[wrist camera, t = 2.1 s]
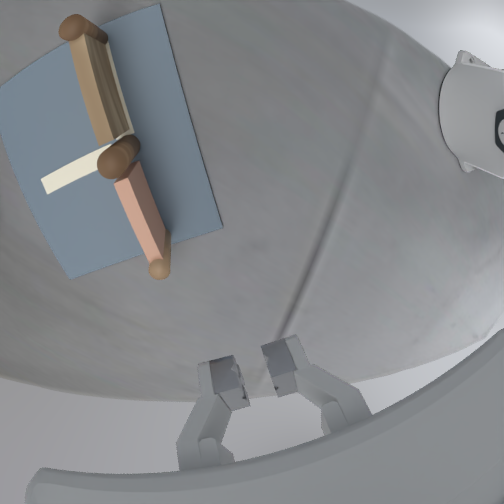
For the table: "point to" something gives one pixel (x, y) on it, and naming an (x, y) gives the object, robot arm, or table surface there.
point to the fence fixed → (100, 94)
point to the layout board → (105, 147)
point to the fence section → (145, 219)
